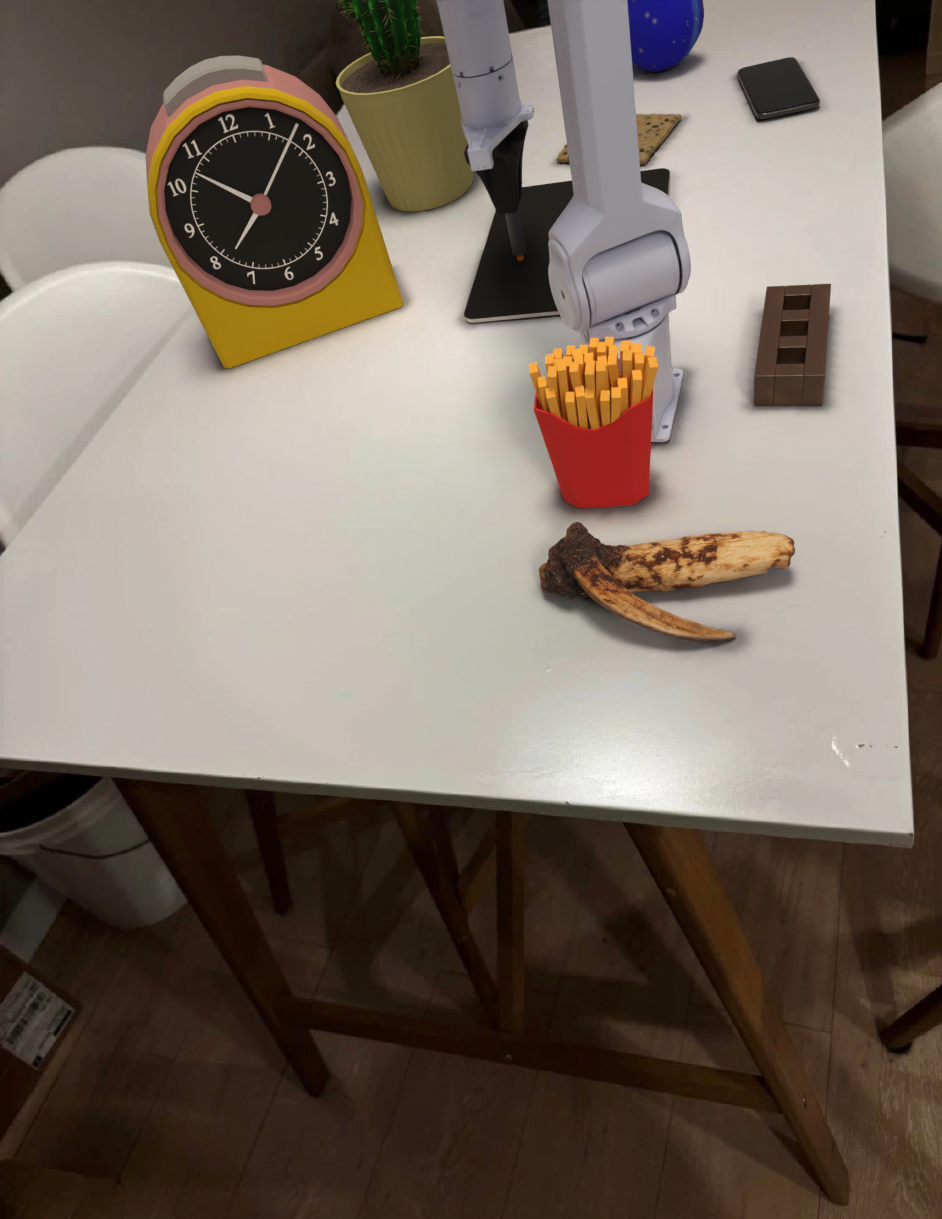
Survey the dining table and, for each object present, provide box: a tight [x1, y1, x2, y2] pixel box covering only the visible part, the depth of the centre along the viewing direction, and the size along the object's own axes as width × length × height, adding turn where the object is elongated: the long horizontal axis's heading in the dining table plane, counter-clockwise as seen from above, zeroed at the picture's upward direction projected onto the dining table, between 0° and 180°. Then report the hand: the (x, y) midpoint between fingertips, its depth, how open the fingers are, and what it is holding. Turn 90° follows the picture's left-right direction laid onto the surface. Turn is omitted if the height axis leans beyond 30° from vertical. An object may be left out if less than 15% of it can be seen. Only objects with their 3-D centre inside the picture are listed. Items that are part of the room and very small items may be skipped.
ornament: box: [627, 0, 705, 73], centre depth 117 cm, size 11×9×15 cm
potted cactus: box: [334, 0, 474, 213], centre depth 103 cm, size 15×15×30 cm
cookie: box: [556, 113, 682, 166], centre depth 111 cm, size 12×12×1 cm
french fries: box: [528, 336, 658, 509], centre depth 67 cm, size 9×4×13 cm, turn 82°
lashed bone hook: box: [538, 521, 796, 643], centre depth 62 cm, size 9×5×18 cm
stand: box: [753, 283, 832, 406], centre depth 76 cm, size 5×13×3 cm, turn 164°
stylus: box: [505, 210, 526, 261], centre depth 93 cm, size 1×1×9 cm
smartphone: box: [736, 56, 821, 120], centre depth 110 cm, size 7×1×15 cm
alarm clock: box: [145, 55, 404, 369], centre depth 90 cm, size 21×9×26 cm, turn 105°
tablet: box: [463, 167, 671, 324], centre depth 97 cm, size 27×1×20 cm
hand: (509, 206), depth 92 cm, fingers closed on stylus, 1 cm apart
